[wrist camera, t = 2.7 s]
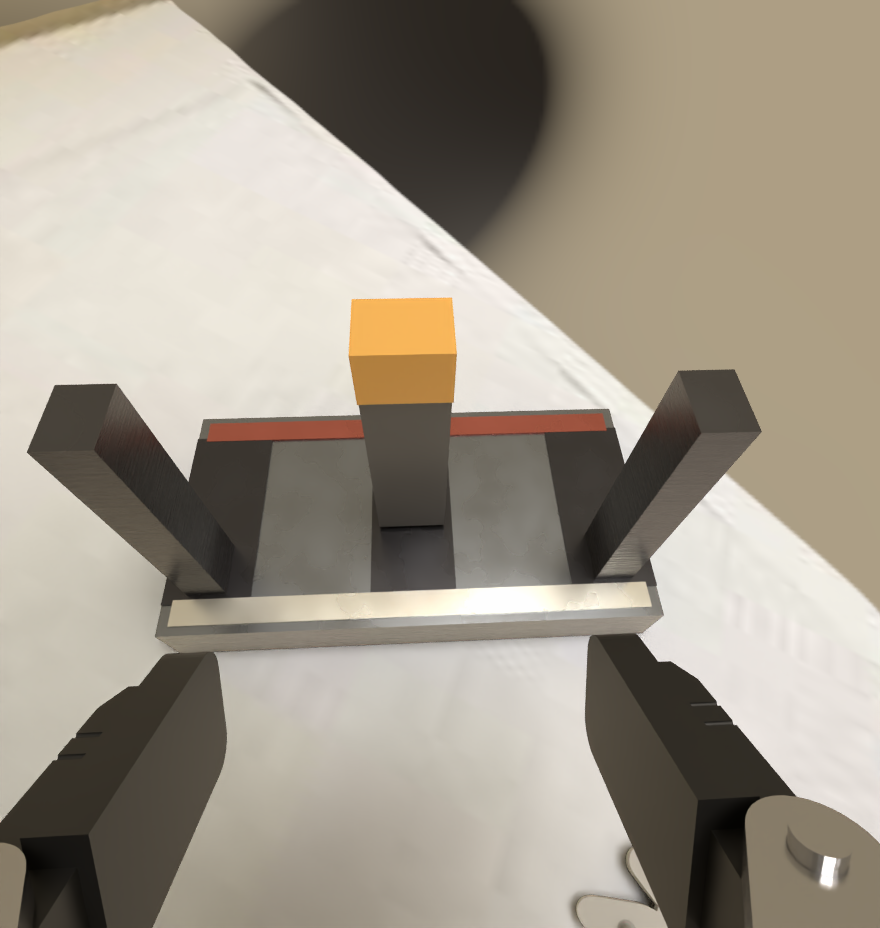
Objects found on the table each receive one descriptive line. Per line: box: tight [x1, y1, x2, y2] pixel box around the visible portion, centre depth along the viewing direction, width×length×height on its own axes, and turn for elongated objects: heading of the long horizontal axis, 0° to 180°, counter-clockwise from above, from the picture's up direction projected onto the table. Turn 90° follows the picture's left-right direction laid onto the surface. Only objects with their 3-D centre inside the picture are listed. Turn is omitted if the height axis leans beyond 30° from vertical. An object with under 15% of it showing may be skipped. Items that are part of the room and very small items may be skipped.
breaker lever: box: [349, 298, 457, 527], centre depth 23 cm, size 2×3×12 cm
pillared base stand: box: [27, 370, 761, 653], centre depth 24 cm, size 12×23×15 cm, turn 93°
